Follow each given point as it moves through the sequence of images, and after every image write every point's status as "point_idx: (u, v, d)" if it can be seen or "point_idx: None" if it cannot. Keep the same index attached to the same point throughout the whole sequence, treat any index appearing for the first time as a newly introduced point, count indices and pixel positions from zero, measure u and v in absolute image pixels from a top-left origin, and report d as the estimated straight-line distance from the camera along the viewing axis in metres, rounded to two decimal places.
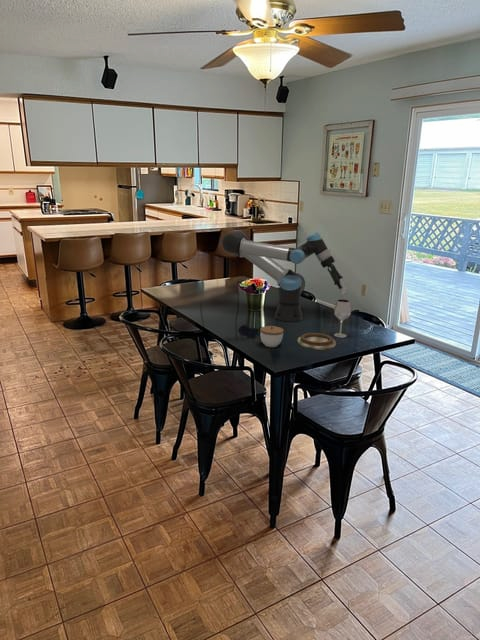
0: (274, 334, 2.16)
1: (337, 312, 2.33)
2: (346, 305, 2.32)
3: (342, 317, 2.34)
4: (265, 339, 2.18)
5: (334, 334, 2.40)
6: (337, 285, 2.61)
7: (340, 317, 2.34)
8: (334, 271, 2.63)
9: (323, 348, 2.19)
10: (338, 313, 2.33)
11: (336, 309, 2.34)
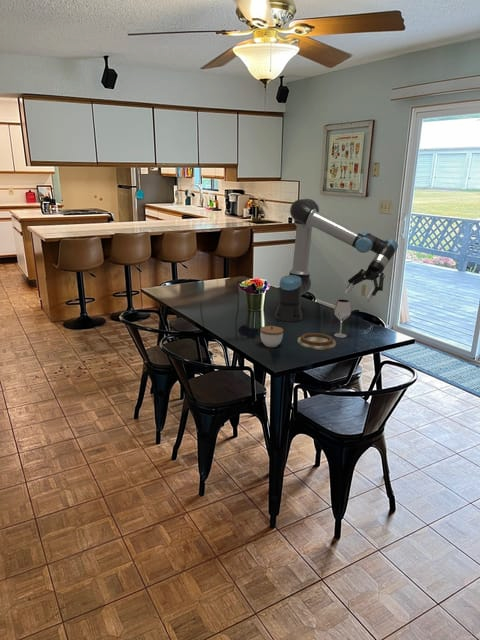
0: (274, 334, 2.16)
1: (337, 312, 2.33)
2: (346, 305, 2.32)
3: (342, 317, 2.34)
4: (265, 339, 2.18)
5: (334, 334, 2.40)
6: (373, 289, 2.36)
7: (340, 317, 2.34)
8: (376, 280, 2.42)
9: (323, 348, 2.19)
10: (338, 313, 2.33)
11: (336, 309, 2.34)
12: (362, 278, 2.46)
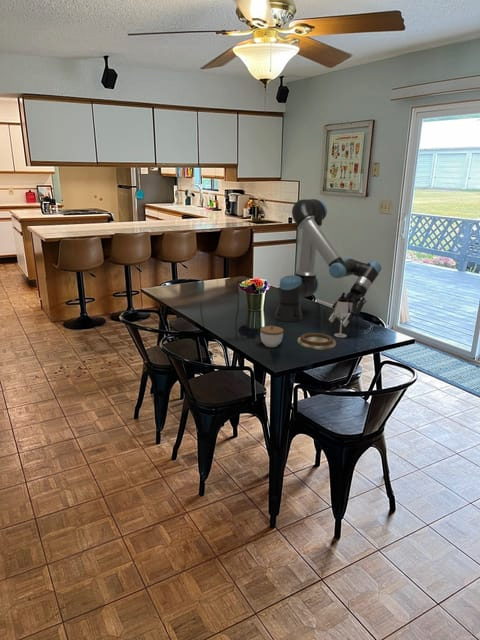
0: (274, 334, 2.16)
1: (337, 312, 2.33)
2: (346, 304, 2.32)
3: (342, 317, 2.34)
4: (265, 339, 2.18)
5: (334, 334, 2.40)
6: (349, 315, 2.33)
7: (340, 317, 2.34)
8: (357, 303, 2.37)
9: (323, 348, 2.19)
10: (338, 313, 2.33)
11: (336, 309, 2.34)
12: None
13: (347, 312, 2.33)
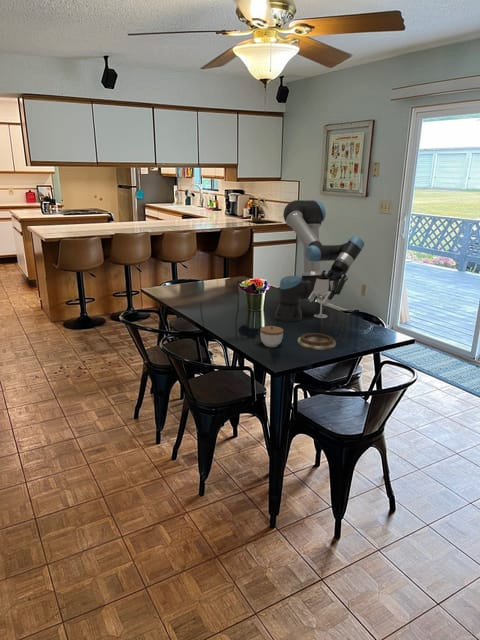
0: (274, 334, 2.16)
1: (317, 290, 2.18)
2: (326, 282, 2.16)
3: (322, 296, 2.18)
4: (265, 339, 2.18)
5: (314, 315, 2.25)
6: (330, 293, 2.17)
7: (320, 296, 2.18)
8: (338, 281, 2.21)
9: (323, 348, 2.19)
10: (318, 291, 2.17)
11: (316, 287, 2.18)
12: None
13: (327, 290, 2.17)
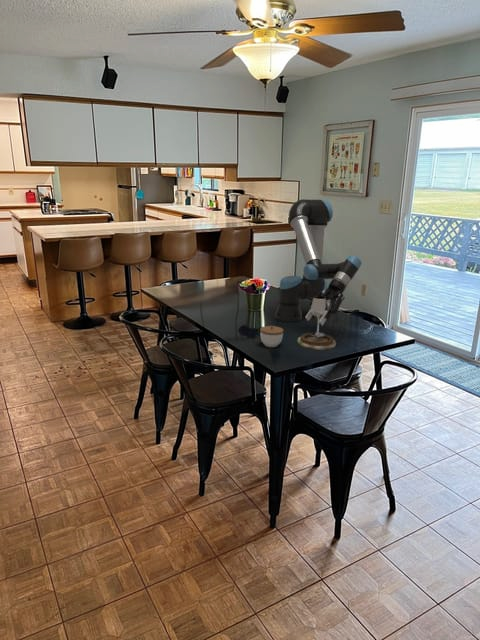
0: (274, 334, 2.16)
1: (313, 309, 2.20)
2: (323, 301, 2.18)
3: (319, 315, 2.20)
4: (265, 339, 2.18)
5: (311, 333, 2.27)
6: (327, 312, 2.19)
7: (317, 315, 2.20)
8: (335, 300, 2.23)
9: (323, 348, 2.19)
10: (315, 311, 2.19)
11: (312, 306, 2.20)
12: None
13: (324, 309, 2.19)
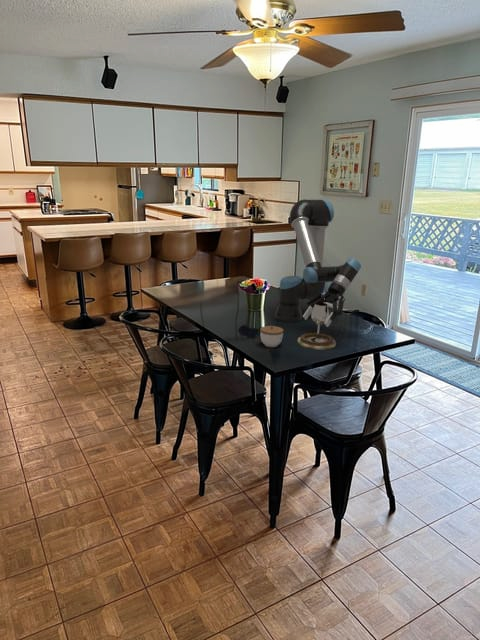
0: (274, 334, 2.16)
1: (314, 316, 2.20)
2: (324, 308, 2.19)
3: (319, 321, 2.21)
4: (265, 339, 2.18)
5: (311, 339, 2.28)
6: (332, 314, 2.18)
7: (317, 321, 2.21)
8: (336, 303, 2.24)
9: (323, 348, 2.19)
10: (315, 317, 2.20)
11: (313, 313, 2.21)
12: (321, 300, 2.28)
13: (325, 316, 2.20)
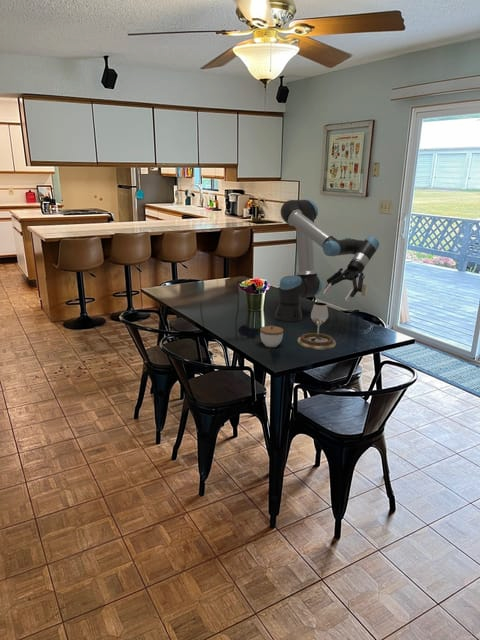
0: (274, 334, 2.16)
1: (314, 316, 2.21)
2: (323, 308, 2.19)
3: (319, 321, 2.21)
4: (265, 339, 2.18)
5: (311, 339, 2.28)
6: (352, 290, 2.24)
7: (317, 321, 2.21)
8: None
9: (323, 348, 2.19)
10: (315, 317, 2.20)
11: (313, 313, 2.21)
12: (341, 278, 2.33)
13: (324, 316, 2.20)
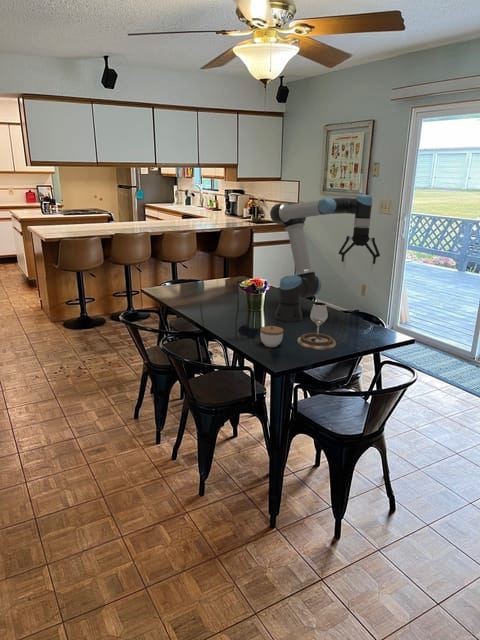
0: (274, 334, 2.16)
1: (313, 316, 2.21)
2: (322, 308, 2.20)
3: (318, 321, 2.21)
4: (265, 339, 2.18)
5: (311, 339, 2.28)
6: (373, 259, 2.38)
7: (316, 321, 2.21)
8: (367, 244, 2.39)
9: (323, 348, 2.19)
10: (314, 317, 2.21)
11: (312, 313, 2.21)
12: (352, 246, 2.40)
13: (324, 316, 2.20)
